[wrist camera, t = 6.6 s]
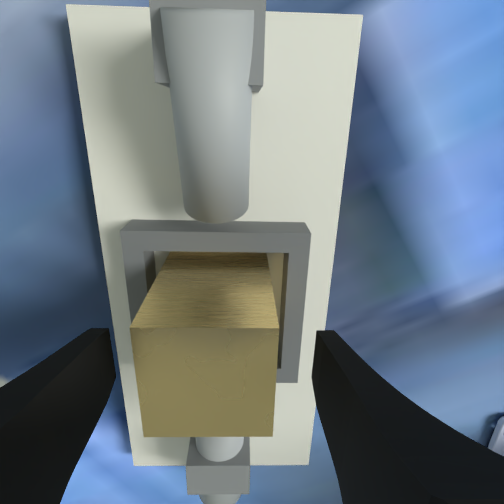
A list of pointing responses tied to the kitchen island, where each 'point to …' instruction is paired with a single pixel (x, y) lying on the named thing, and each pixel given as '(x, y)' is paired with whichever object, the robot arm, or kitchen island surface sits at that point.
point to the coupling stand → (219, 183)
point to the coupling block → (207, 347)
